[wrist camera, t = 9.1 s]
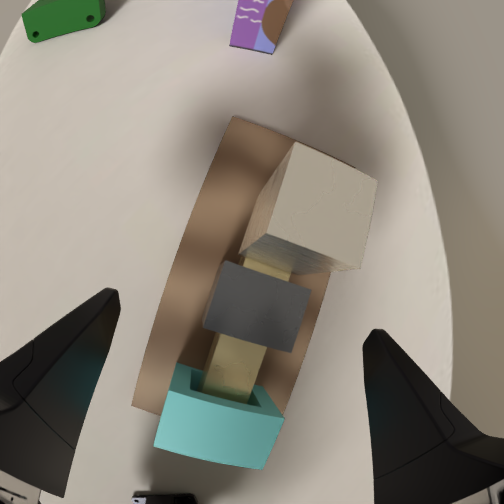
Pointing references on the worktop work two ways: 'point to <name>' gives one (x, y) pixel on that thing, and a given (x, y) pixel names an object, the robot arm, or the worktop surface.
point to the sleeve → (255, 307)
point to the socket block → (217, 423)
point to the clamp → (61, 17)
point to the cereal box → (259, 24)
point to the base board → (206, 265)
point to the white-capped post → (294, 247)
